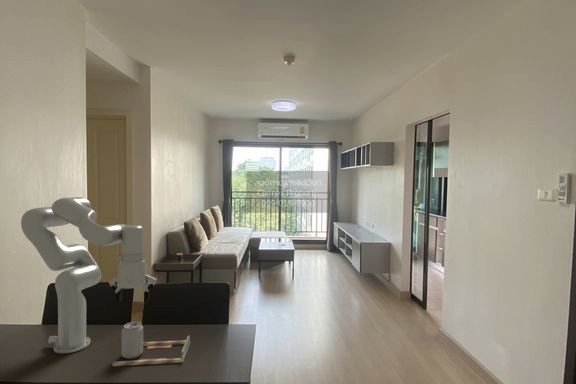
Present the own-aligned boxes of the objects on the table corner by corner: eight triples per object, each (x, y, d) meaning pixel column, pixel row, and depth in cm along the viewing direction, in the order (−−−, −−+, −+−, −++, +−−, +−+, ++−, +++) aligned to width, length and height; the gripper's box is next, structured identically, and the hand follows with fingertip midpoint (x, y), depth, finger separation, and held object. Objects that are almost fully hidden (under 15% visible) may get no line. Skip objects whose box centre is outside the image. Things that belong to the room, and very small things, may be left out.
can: (146, 350, 130) (146, 320, 129) (136, 360, 122) (136, 329, 122) (129, 349, 130) (129, 319, 130) (117, 359, 123) (117, 328, 123)
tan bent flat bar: (112, 366, 118) (112, 356, 118) (127, 345, 133) (127, 337, 133) (183, 362, 121) (183, 353, 121) (190, 343, 136) (190, 334, 136)
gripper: (104, 260, 121) (105, 306, 121) (153, 259, 123) (153, 304, 123) (113, 256, 128) (113, 299, 128) (158, 255, 130) (158, 297, 131)
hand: (133, 301), depth 126 cm, fingers open, 9 cm apart
